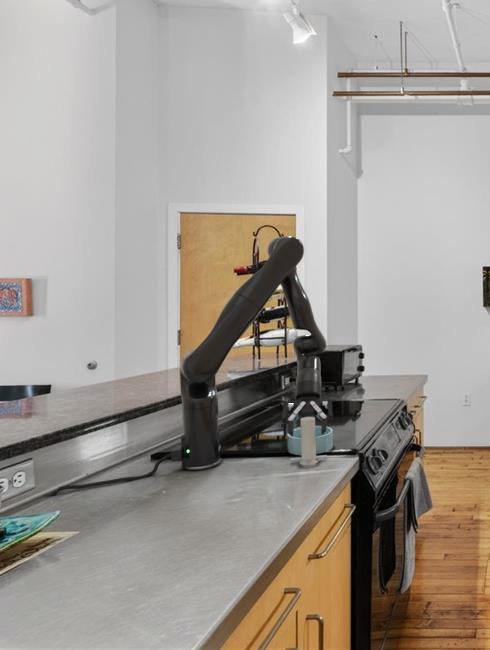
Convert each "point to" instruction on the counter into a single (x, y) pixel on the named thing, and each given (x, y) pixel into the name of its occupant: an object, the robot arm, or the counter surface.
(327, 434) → the processor bowl
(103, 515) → the counter surface
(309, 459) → the blade
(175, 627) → the counter surface
